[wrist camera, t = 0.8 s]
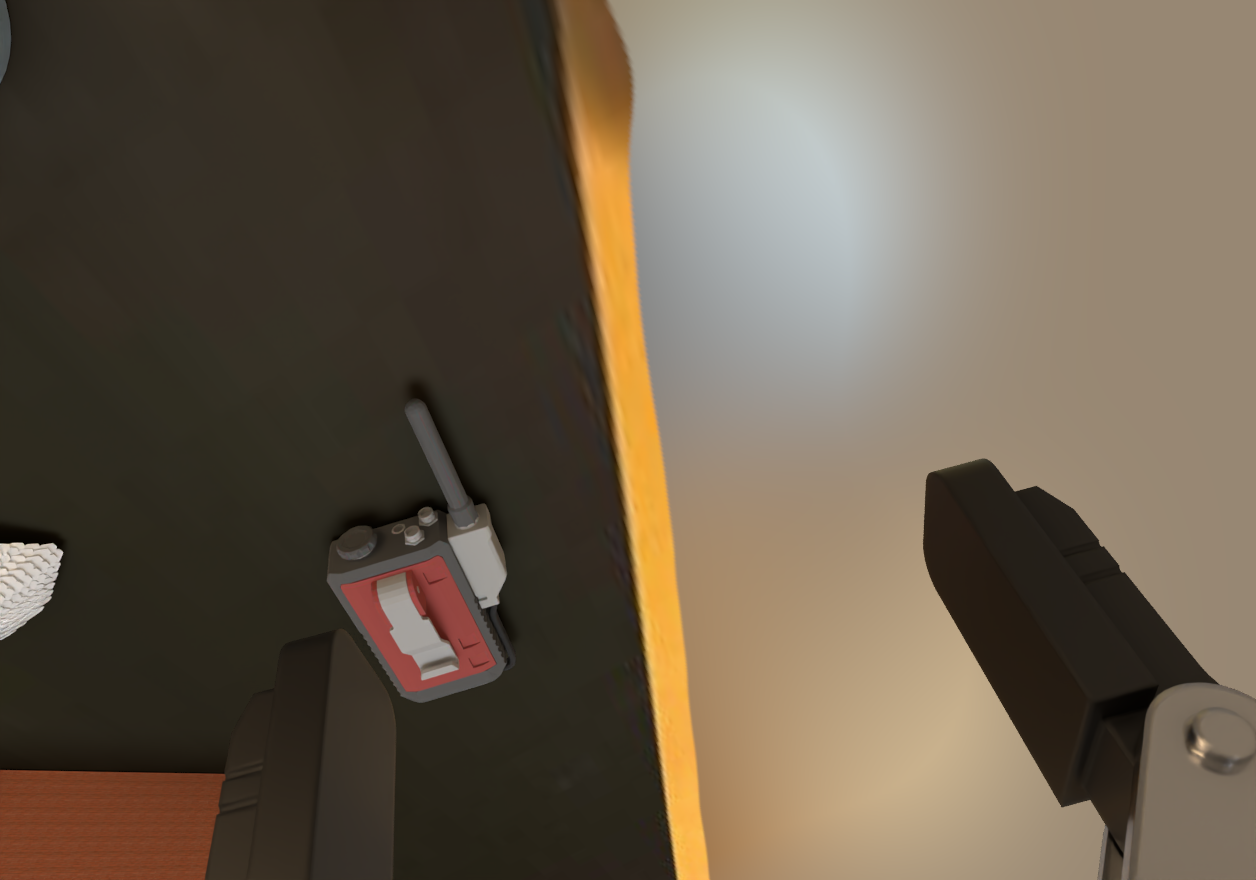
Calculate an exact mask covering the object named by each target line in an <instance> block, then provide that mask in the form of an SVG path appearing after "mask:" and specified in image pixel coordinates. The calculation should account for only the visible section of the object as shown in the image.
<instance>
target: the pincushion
mask: <svg viewBox="0 0 1256 880" xmlns="http://www.w3.org/2000/svg"><path fill="white" fill-rule="evenodd" d="M56 548H57V546H56V545H55V544H54V543H50V544H43V545H41V546H39V544H38V543H36V544H26V545H24V543H11V544H1V543H0V640H2V639H4V638H5V637H7V636H9V635H10V634H12V633H14V632H15V631H17V630H15V629H17V628H19V627H20V626H22V625H24V624H25V623H27V622H26V621H27V620H29V619H30V618H32V617H33V616H35V615H36V614H38V613H39V612H40V611H42V610H43V608H44V606H42V605H44V604H45V603H47V602H48V601H49V600H50V599H51V596H50V595H51V594H52V592H53V590H51V589H52V588H53V587H54V585H55V583H53V581H54V580H55V579H56V578H57V576H58V573H57V572H56V571H58V569H59V566H60V564H61V563H59V561H60V559H61V557H62V555H63V551H61V550H60V549H56ZM49 596H50V597H49ZM41 606H42V607H41ZM13 630H14V631H13ZM11 631H12V632H11ZM6 634H7V635H6Z"/></svg>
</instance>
